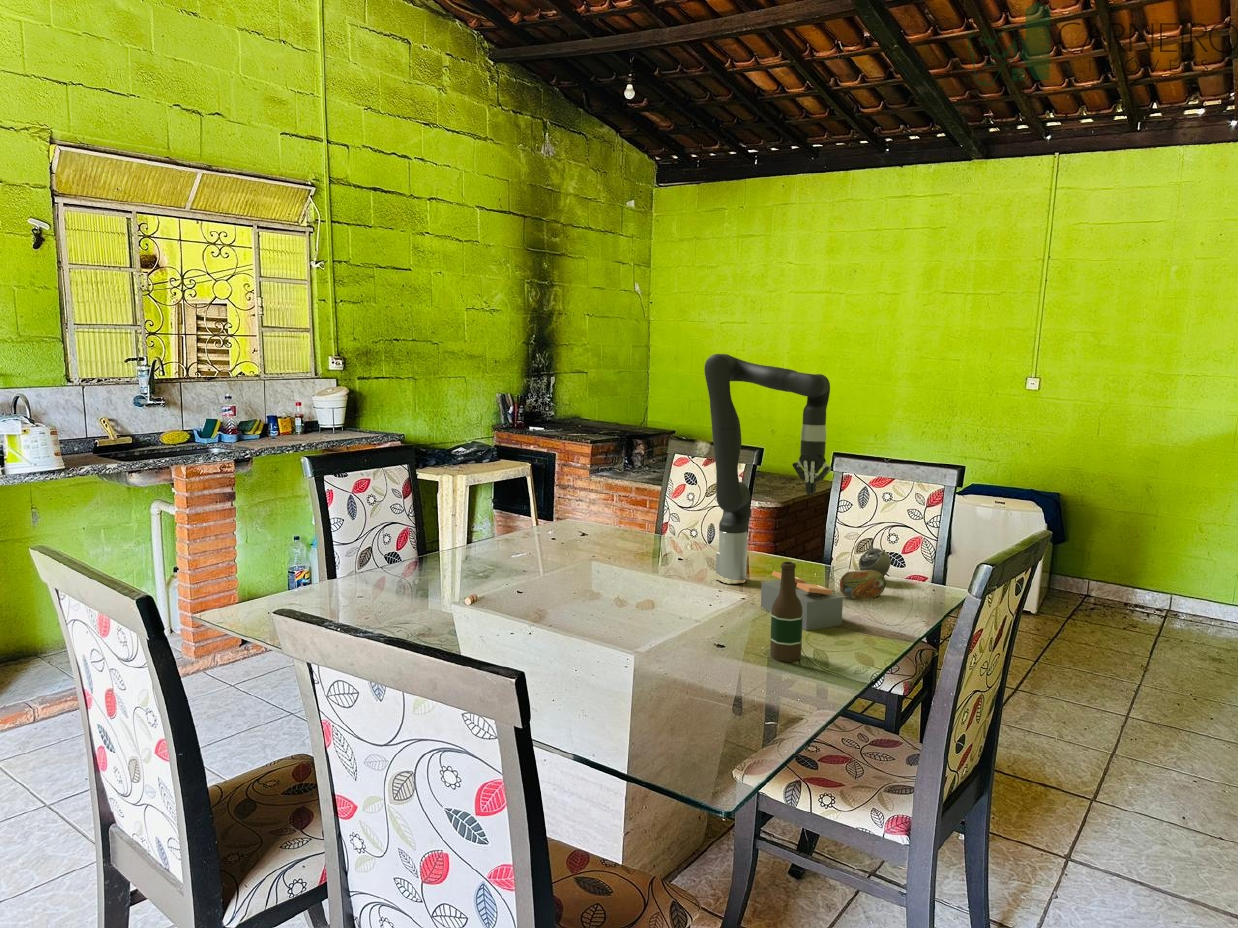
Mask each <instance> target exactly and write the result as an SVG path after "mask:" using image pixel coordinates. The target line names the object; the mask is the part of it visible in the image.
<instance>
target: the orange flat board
mask: <svg viewBox="0 0 1238 928" xmlns="http://www.w3.org/2000/svg"><path fill="white" fill-rule="evenodd" d="M796 587H798V588H800V589H802V590H805V591H807V592H812V593H821V594H830V595H831V594H832V593H833V590H832V589H830V588H828V587H825V586H822V585H819V584H812V583H810V584H804V583H797V586H796Z"/></svg>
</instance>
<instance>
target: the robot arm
mask: <svg viewBox="0 0 1238 928" xmlns="http://www.w3.org/2000/svg"><path fill="white" fill-rule="evenodd" d="M704 377H705V382H706V387H707V392H708V398H709V407H710V408H709V410H710V421H711V435H712V442H713V452H714V462H715V469H716V470H715V471H716V473H715V474H716V477H715V478H716V489H715V492H716V493H715V496H716V497H715V498H716V502H717V504H718V507H719V508H720V509H721V510H722V512H723V513H722V517H721V519H720V521H719V522H718V551H716V553H715V574H716V573H717V574H719V575H720V576H722V577H724V578H728V579H732V580H745V579H746V580H747V555H748V554H747V552H748V526H749V522H750V517H751V515H750V514H751V492H750V490H749V487H748V486H747V485H746V484H745V483H743V482H742V481H740V479H739V461H740V460H739V459H740V455H741V450H742V449H741V448H742V432H741V431H742V430H741V422H740V418H739V416H738V413H737V409H736V407H735V405H734V403H733V400H732V395H731V382H743V383H745V382H746V383H749V384H750V383H751V384H755V385H758V386H761V387H764V388H767V389H771V390H776V391H781V392H785V393H786V392H787V393H792V394H795V395H799V396H803V397H807V399H806V405H805V406H804V408H803V410H802V411H803V412H802V425H801V431H800V432H801V433H800V448H799V449H800V450H799V452H800V455H799V458H798V460H797V461H796V462H792V467H793V469H794V470H795V472H796V474H797V476H798V477H799V479H800V480H802V481H804V482H805V493H806V494H807V495H810V496H812V495H815V493H816V492H817V483H818V482H822V481H823V480H824V479H825V478H826V477H827V475H828V474H829V473H830V472H831V471H832V470H833V467H832V466H831V465H829V464H828V463H827V462H826V456H825V455H826V444H827V443H826V442H827V441H826V440H827V426H826V425H827V424H826V423H827V407H828V404H829V400H830V393H831V384H830V380H829V378H828V377H827V376H826V375H824V374H821V373H817V374H813V373H806V372H798V371H797V370H794V369H791V368H784V367H778V366H772V365H764V364H757V363H753V362H749V361H746V360H742V359H740V358H738V357H735V356H732V355H730V354H727V353H715V354H712V355H710V356H708V358H707V359H706V361H705V363H704ZM820 471H821V472H820Z"/></svg>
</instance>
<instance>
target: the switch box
mask: <svg viewBox="0 0 1238 928" xmlns="http://www.w3.org/2000/svg"><path fill="white" fill-rule="evenodd" d="M780 584H781V579H780V578H779V579H774V580H765V581H761V586H760V589H761V591H760V592H761V593H760V608H761V607H763V608H764V609H766V610H767V611H766V610H765V611H766V612H768V611H769V612H768V613H770V612H771V613H772V606H773V604H774V601H775V599H776V598H777V597H778V595H779V591H780ZM805 584H811V583H809V582H807V581H806V582H805ZM796 586H797V583H795V590H796V595H797V597H798V598H799V600H800V602H801V605H802V612H803V617H802V630H804V631H806V632H807V631H808V632H809V631H814V630H819V629H826V628H827V629H828V628H832V627H837V626H842V625H843V602H844V597H843V596H841V595H838V594H836V593H834V592H832V594H831V595H830V594H821V593H812V592H807V591H805V590H802V589H800V588H798V587H796ZM764 609H763V610H764ZM771 613H770V614H771Z"/></svg>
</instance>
